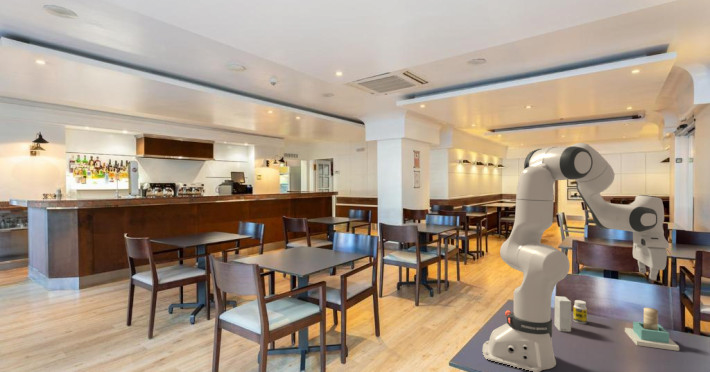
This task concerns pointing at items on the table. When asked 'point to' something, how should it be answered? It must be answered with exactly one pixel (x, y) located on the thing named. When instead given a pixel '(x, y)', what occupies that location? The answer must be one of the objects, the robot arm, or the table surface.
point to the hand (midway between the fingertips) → (647, 276)
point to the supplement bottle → (580, 312)
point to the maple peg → (650, 319)
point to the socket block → (651, 337)
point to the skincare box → (563, 313)
